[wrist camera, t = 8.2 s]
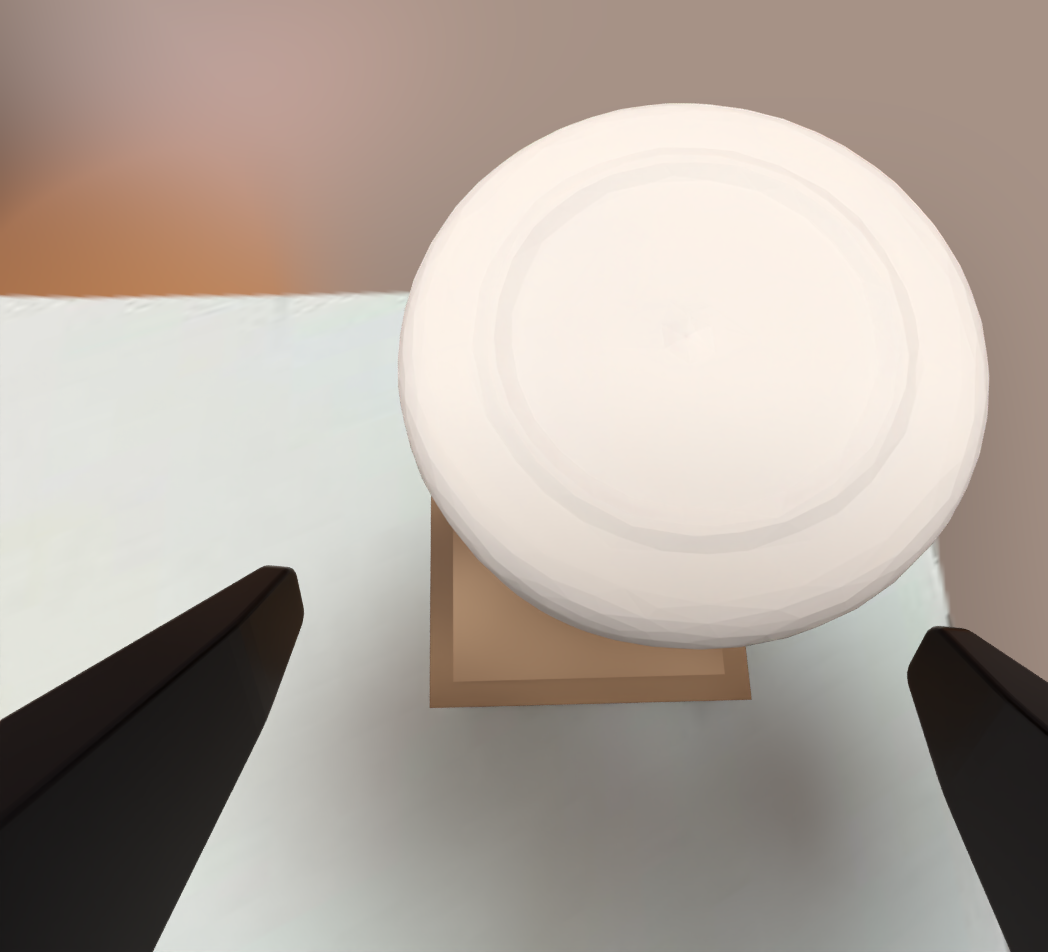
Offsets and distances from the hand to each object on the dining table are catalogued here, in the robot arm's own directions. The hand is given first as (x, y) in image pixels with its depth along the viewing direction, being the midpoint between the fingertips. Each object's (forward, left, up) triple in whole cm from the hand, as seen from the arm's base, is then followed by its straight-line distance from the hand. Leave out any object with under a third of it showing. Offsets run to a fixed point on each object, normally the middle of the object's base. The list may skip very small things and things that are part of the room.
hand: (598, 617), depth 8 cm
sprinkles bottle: (+2, 0, -9) cm, 9 cm away
